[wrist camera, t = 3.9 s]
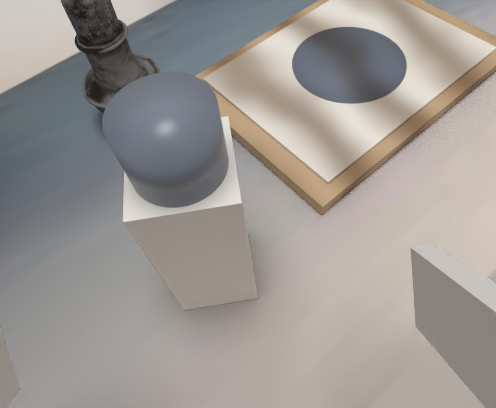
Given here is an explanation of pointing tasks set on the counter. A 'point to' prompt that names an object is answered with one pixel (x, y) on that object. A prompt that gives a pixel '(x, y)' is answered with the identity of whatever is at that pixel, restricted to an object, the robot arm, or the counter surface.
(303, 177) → the picture frame
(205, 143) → the dome-capped white pillar
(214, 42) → the counter surface
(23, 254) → the counter surface
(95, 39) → the dark chess piece
